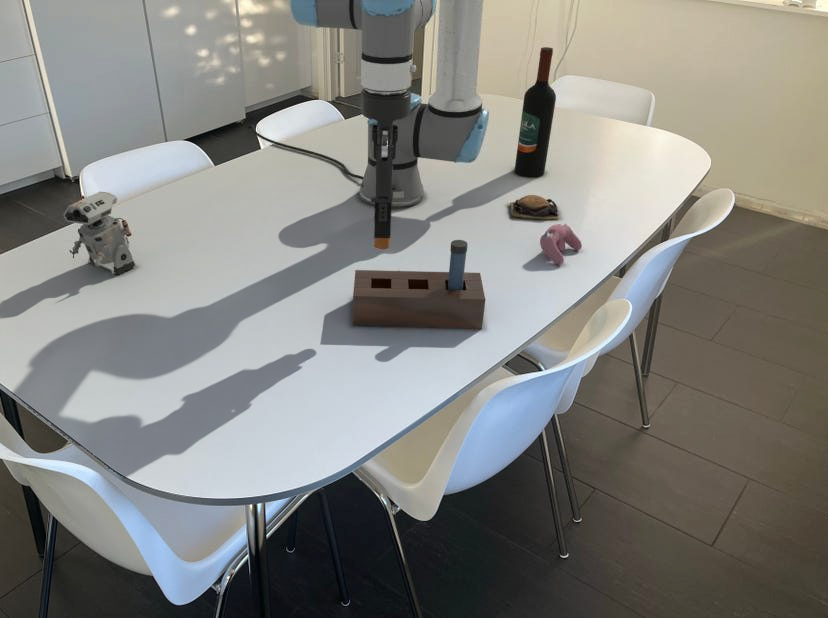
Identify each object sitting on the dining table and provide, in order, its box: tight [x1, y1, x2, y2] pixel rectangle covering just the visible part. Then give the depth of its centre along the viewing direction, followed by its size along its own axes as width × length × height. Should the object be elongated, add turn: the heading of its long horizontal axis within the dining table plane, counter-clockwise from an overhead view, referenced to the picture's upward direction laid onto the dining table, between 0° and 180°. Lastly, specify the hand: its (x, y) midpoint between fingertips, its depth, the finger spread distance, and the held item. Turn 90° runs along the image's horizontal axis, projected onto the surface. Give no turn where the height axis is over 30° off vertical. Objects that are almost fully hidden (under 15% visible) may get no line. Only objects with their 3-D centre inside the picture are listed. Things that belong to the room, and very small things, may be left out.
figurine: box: [62, 191, 136, 276], centre depth 141 cm, size 9×12×15 cm
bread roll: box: [509, 194, 559, 221], centre depth 167 cm, size 11×8×4 cm
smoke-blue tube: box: [448, 239, 468, 290], centre depth 127 cm, size 3×3×14 cm
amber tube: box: [373, 166, 393, 250], centre depth 120 cm, size 3×3×14 cm
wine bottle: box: [514, 46, 557, 179], centre depth 180 cm, size 8×8×30 cm
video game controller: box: [539, 223, 583, 266], centre depth 149 cm, size 10×5×7 cm, turn 141°
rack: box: [352, 269, 486, 330], centre depth 130 cm, size 10×22×6 cm, turn 87°
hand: (382, 232), depth 123 cm, fingers closed on amber tube, 2 cm apart
